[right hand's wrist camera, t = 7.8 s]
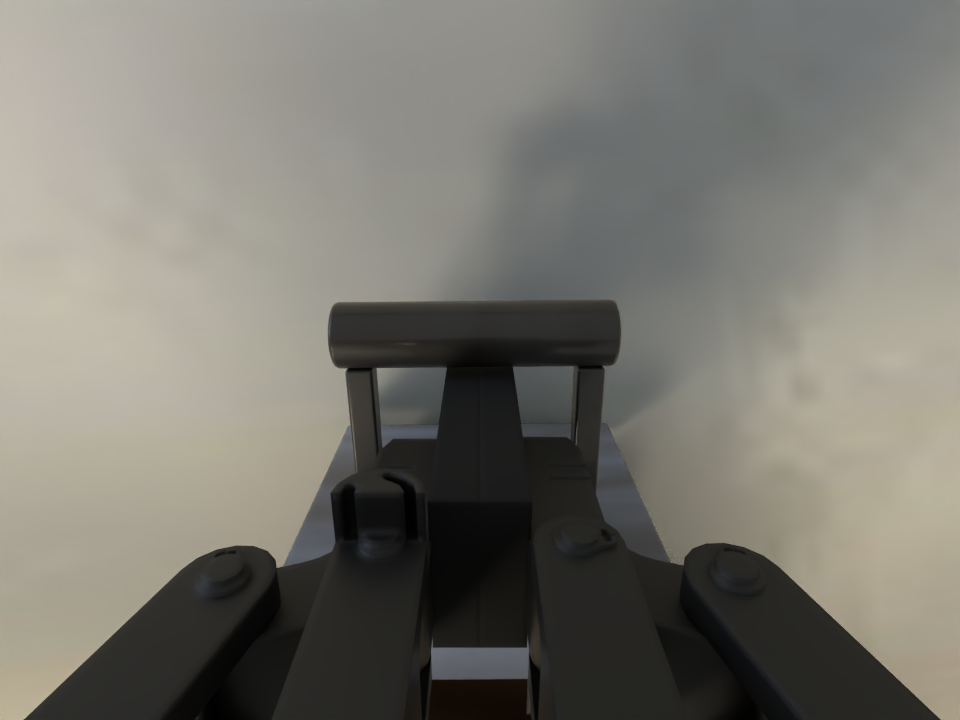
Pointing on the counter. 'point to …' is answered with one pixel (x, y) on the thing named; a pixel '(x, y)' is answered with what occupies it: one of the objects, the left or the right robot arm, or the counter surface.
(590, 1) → the counter surface
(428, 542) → the right robot arm
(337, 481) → the drawer
